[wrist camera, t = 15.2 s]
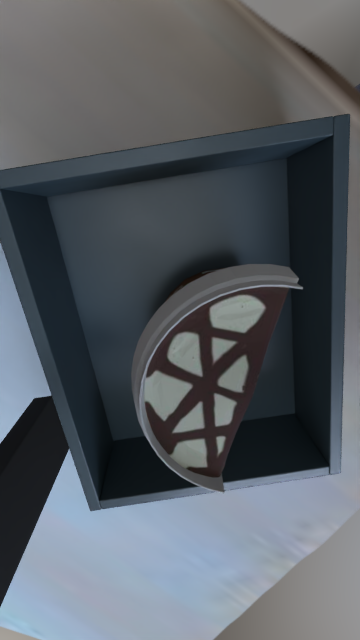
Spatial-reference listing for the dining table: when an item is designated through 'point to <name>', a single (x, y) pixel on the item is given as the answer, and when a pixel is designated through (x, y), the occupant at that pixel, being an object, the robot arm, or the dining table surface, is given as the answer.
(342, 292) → the tote
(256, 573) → the dining table surface
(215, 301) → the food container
